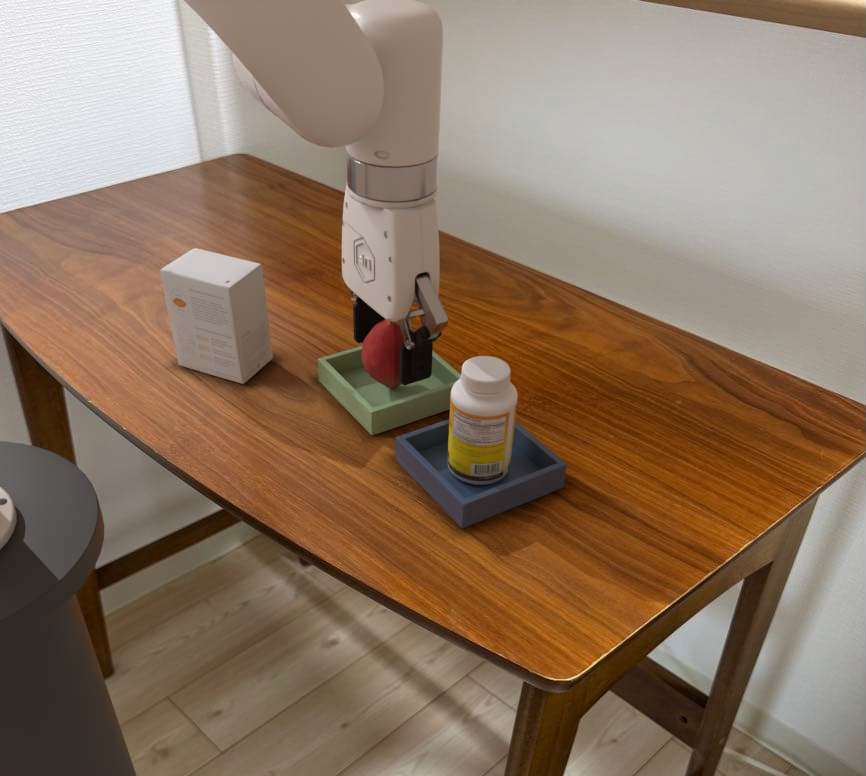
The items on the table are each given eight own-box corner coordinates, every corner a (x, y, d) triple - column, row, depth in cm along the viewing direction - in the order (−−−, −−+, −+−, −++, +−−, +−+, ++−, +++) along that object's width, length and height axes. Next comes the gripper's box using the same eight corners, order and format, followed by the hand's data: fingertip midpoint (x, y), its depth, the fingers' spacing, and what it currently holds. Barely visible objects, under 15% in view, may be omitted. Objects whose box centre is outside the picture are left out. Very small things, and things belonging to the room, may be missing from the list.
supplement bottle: (473, 441, 82) (481, 342, 75) (522, 467, 80) (535, 367, 73) (433, 469, 79) (437, 368, 72) (482, 497, 76) (492, 395, 70)
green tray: (371, 436, 83) (371, 412, 82) (318, 381, 90) (317, 358, 88) (467, 403, 88) (468, 381, 86) (410, 353, 94) (410, 331, 93)
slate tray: (461, 529, 74) (463, 504, 73) (395, 460, 81) (395, 437, 79) (563, 487, 79) (567, 464, 77) (492, 426, 85) (494, 402, 84)
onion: (350, 383, 89) (347, 309, 83) (396, 365, 92) (397, 292, 86) (386, 410, 86) (386, 335, 80) (433, 390, 88) (436, 316, 83)
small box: (274, 360, 93) (264, 263, 86) (243, 386, 89) (230, 287, 82) (209, 341, 95) (194, 245, 88) (176, 366, 91) (158, 268, 84)
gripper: (304, 147, 78) (315, 328, 90) (408, 221, 68) (405, 415, 79) (379, 134, 81) (380, 311, 93) (490, 202, 71) (475, 392, 83)
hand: (391, 358), depth 86 cm, fingers open, 8 cm apart
